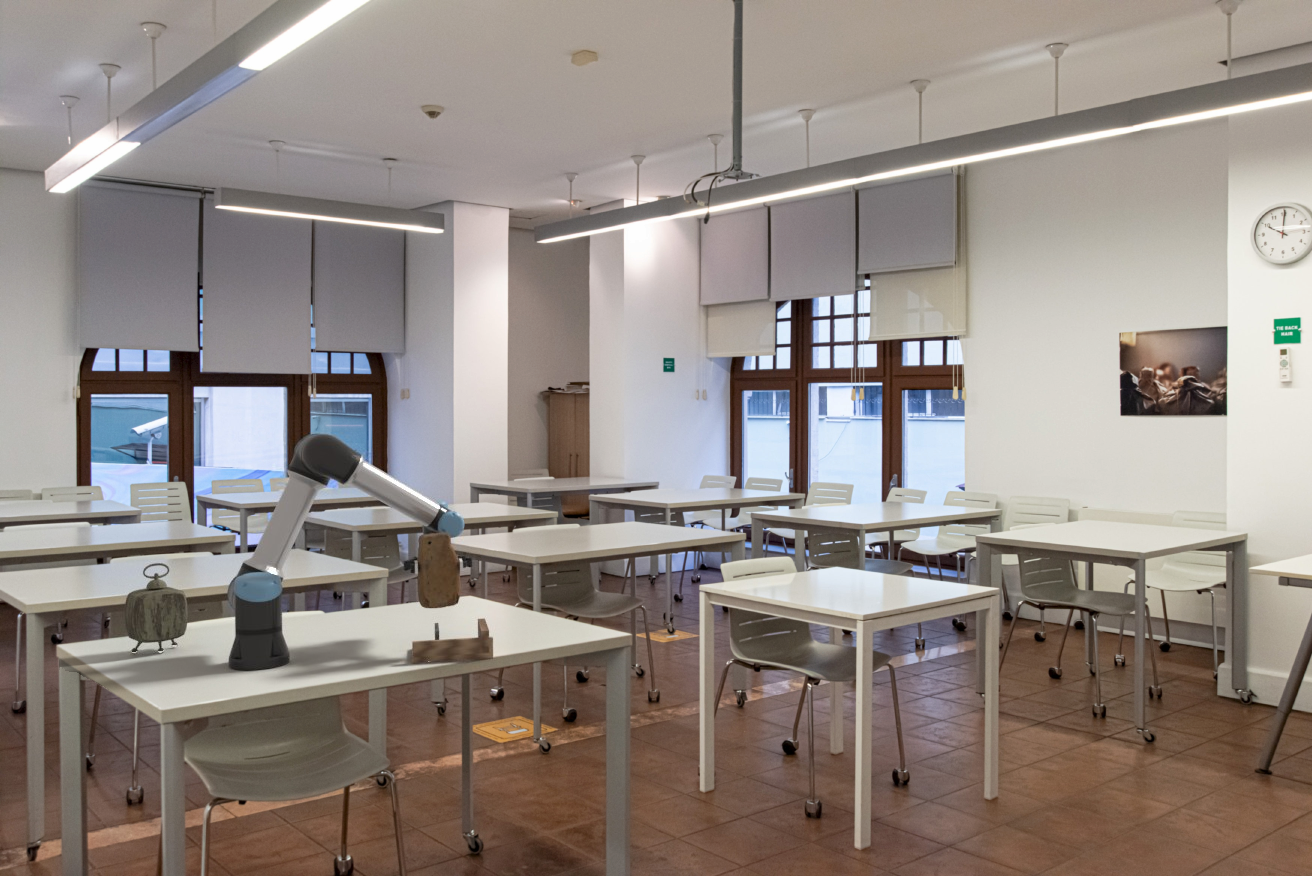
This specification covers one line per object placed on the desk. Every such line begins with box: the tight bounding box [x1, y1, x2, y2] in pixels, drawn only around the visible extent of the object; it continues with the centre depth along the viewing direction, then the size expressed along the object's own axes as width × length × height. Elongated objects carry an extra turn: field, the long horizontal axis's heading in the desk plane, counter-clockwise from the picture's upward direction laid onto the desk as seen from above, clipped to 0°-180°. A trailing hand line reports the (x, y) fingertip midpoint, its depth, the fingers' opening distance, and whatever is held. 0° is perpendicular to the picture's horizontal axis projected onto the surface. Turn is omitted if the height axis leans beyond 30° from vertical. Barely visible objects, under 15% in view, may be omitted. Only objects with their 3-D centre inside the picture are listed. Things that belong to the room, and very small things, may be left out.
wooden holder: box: [411, 618, 494, 664], centre depth 281 cm, size 21×18×8 cm
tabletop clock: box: [123, 562, 189, 653], centre depth 287 cm, size 14×9×25 cm, turn 134°
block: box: [416, 532, 461, 609], centre depth 281 cm, size 11×8×20 cm
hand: (439, 567), depth 277 cm, fingers closed on block, 11 cm apart
